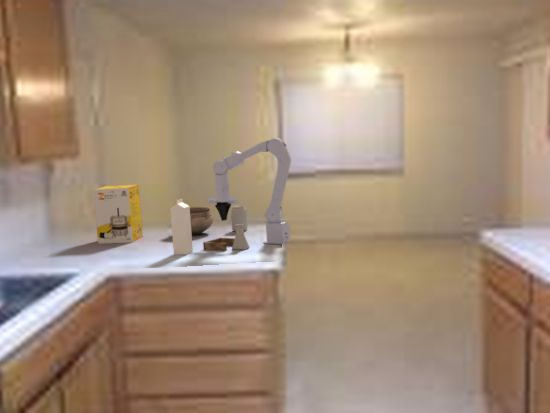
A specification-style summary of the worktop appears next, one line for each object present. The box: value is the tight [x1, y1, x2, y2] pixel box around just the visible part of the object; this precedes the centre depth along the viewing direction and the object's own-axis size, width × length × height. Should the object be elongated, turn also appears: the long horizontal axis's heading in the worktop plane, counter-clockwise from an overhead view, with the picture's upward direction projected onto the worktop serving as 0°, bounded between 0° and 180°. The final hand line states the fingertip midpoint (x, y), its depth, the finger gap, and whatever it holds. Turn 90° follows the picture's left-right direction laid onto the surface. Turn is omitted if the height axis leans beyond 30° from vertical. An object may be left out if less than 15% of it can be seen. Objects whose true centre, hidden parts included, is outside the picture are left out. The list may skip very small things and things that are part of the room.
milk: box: [170, 198, 194, 256], centre depth 285 cm, size 6×6×22 cm
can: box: [230, 205, 248, 233], centre depth 339 cm, size 8×8×12 cm
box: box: [202, 237, 235, 252], centre depth 295 cm, size 11×12×3 cm
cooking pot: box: [190, 206, 214, 236], centre depth 336 cm, size 25×19×12 cm
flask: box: [231, 224, 250, 251], centre depth 290 cm, size 7×7×10 cm
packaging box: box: [93, 184, 144, 245], centre depth 330 cm, size 16×16×25 cm
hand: (224, 220), depth 301 cm, fingers closed
